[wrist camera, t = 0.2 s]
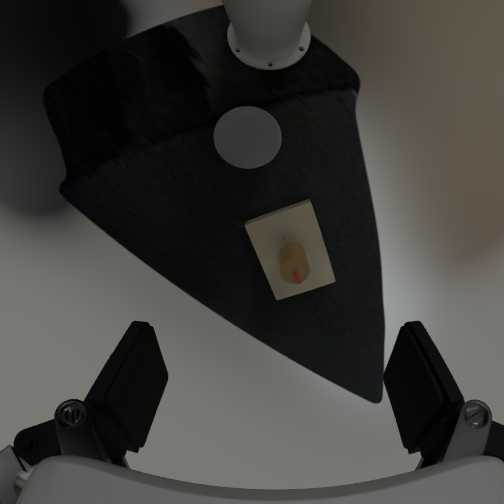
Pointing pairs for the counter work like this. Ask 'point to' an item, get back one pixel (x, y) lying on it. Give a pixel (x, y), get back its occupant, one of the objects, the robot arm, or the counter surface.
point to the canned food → (247, 137)
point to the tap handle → (294, 263)
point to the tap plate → (282, 233)
